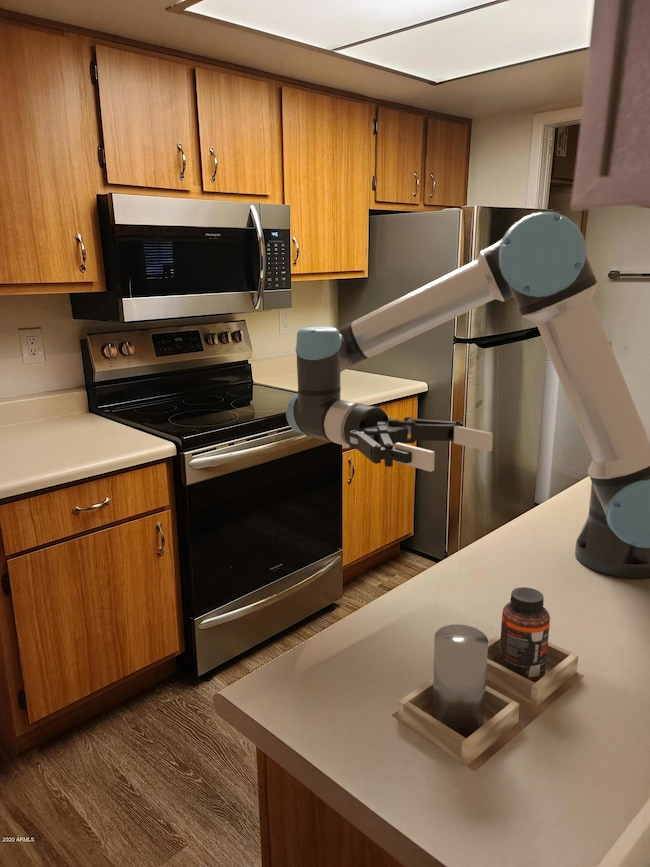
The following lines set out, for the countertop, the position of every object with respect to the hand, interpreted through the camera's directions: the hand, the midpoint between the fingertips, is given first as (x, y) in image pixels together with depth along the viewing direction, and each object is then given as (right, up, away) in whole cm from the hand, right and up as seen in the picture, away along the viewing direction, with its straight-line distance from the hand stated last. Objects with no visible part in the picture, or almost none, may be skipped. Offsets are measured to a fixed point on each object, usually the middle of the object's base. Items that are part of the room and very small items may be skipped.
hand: (463, 451), depth 90 cm
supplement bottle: (+7, -29, -6) cm, 30 cm away
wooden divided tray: (+1, -31, -10) cm, 33 cm away
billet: (-4, -32, -15) cm, 35 cm away
